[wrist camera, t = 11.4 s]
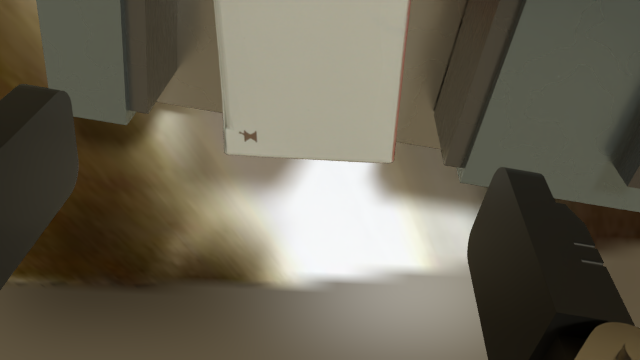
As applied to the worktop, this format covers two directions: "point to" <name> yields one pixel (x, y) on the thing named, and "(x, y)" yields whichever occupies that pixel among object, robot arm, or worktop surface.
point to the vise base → (206, 58)
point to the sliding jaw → (547, 97)
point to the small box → (311, 77)
